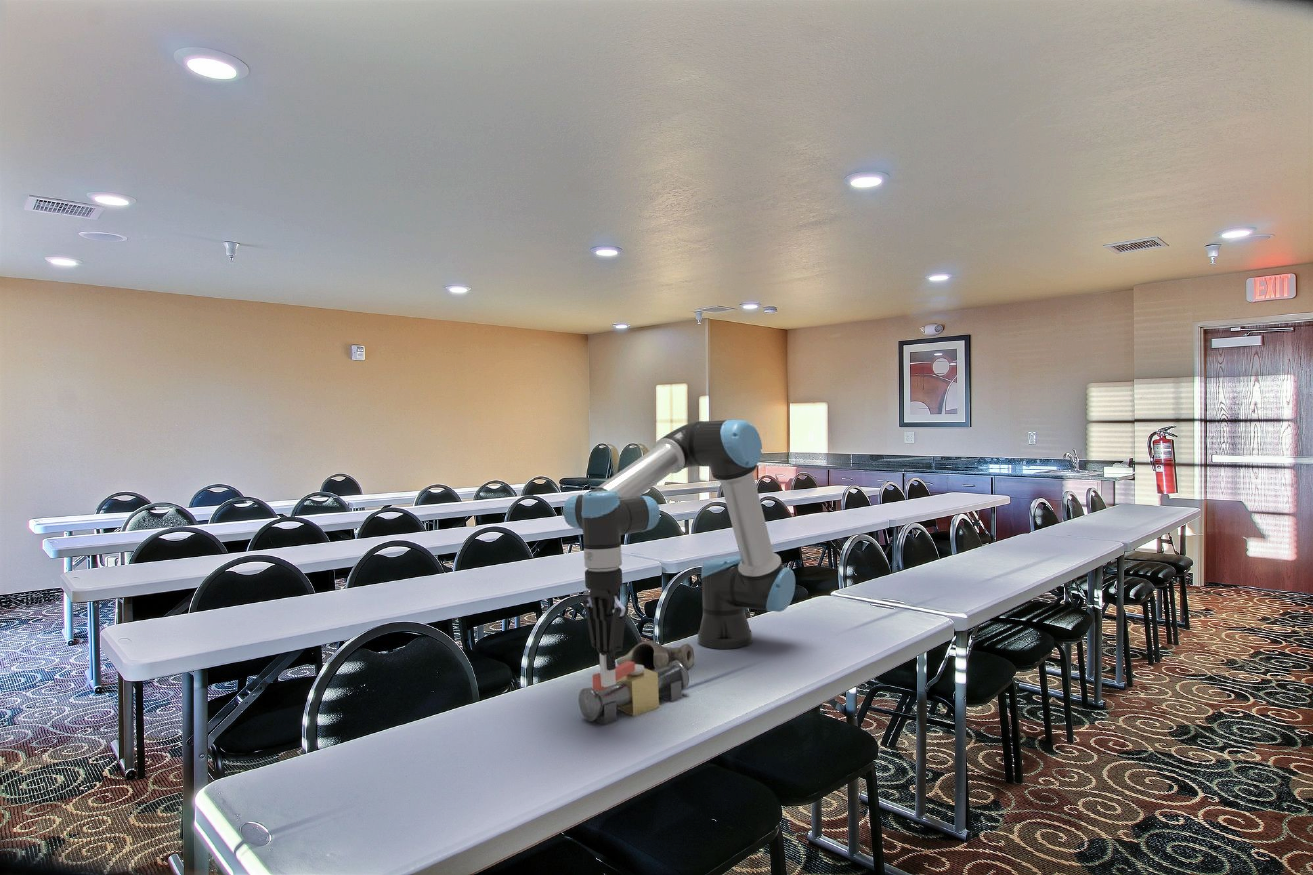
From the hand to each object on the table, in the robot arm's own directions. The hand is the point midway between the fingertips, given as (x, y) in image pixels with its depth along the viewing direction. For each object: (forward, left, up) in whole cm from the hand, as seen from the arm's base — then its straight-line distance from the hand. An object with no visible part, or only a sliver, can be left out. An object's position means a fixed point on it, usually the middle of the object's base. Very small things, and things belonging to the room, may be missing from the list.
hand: (608, 684), depth 151 cm
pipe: (-29, -21, -10) cm, 38 cm away
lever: (-6, -4, -2) cm, 7 cm away
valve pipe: (-11, -6, -10) cm, 16 cm away
